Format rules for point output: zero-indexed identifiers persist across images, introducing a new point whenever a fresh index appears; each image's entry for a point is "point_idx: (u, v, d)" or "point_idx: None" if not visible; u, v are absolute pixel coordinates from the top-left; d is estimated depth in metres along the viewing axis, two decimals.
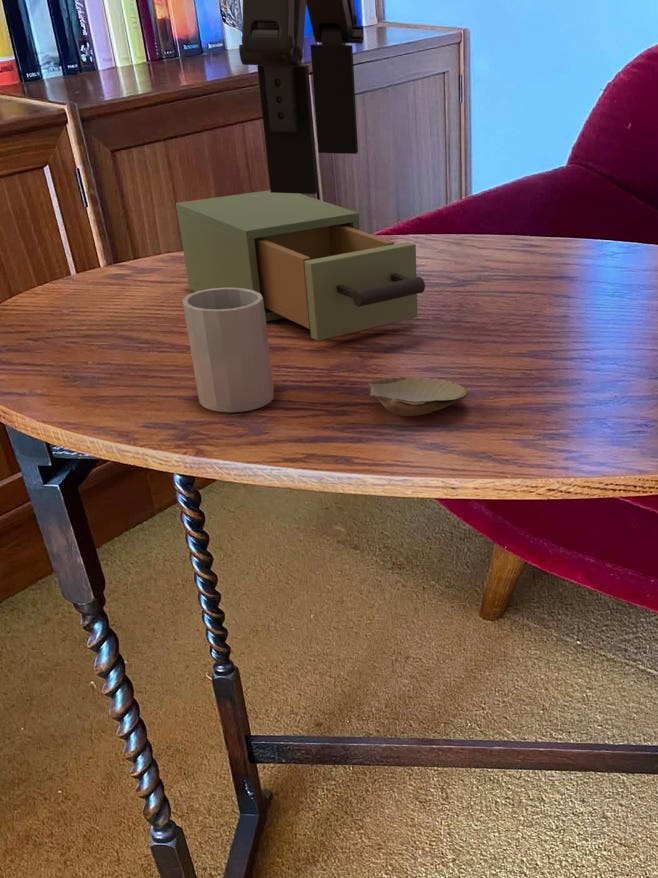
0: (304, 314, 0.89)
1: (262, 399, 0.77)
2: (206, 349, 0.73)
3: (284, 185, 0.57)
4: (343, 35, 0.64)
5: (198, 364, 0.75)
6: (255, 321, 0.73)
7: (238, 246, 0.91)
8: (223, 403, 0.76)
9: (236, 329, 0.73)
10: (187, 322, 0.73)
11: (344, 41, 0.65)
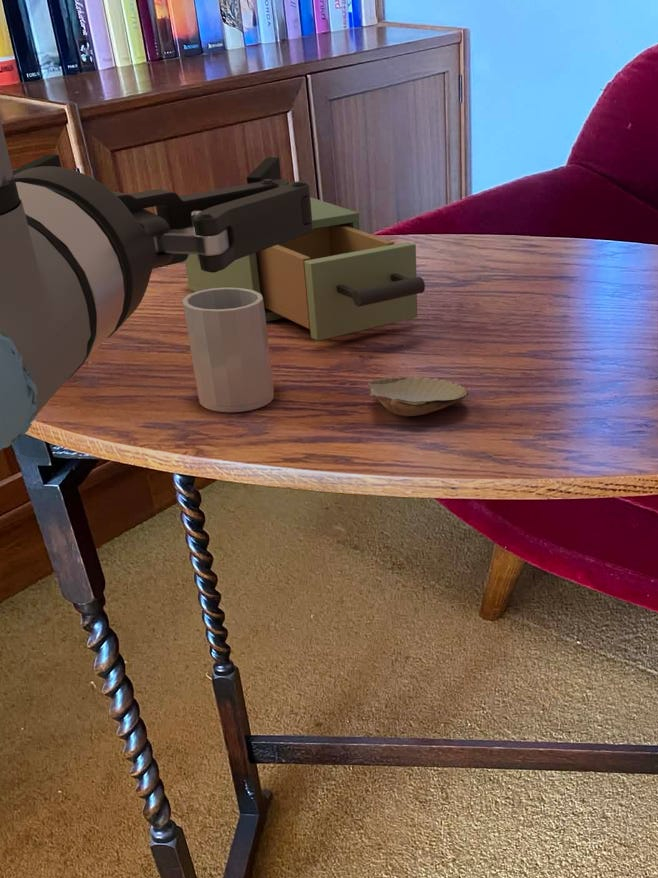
0: (304, 314, 0.89)
1: (262, 399, 0.77)
2: (206, 349, 0.73)
3: None
4: None
5: (198, 364, 0.75)
6: (255, 321, 0.73)
7: None
8: (223, 403, 0.76)
9: (236, 329, 0.73)
10: (187, 322, 0.73)
11: None
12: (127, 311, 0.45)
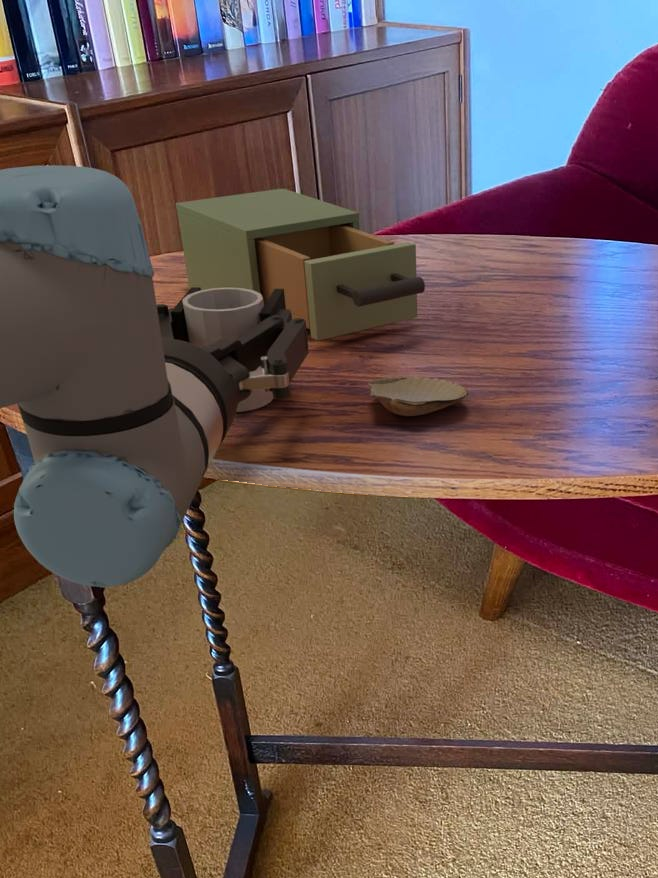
0: (304, 314, 0.89)
1: (262, 399, 0.77)
2: None
3: None
4: None
5: None
6: (255, 321, 0.73)
7: (238, 246, 0.91)
8: None
9: (236, 329, 0.73)
10: (187, 322, 0.73)
11: None
12: (222, 440, 0.62)
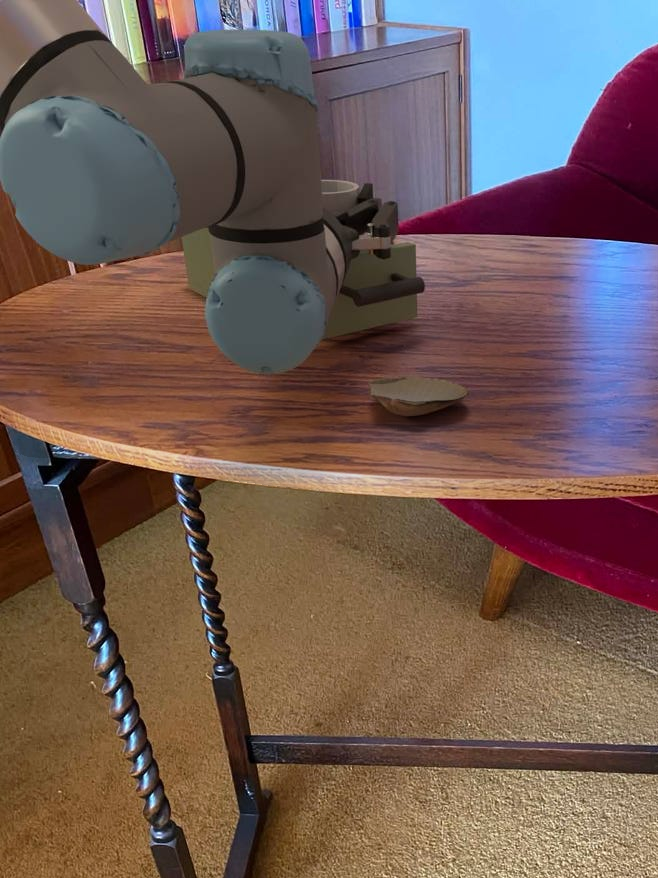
0: None
1: None
2: None
3: None
4: None
5: None
6: (353, 205, 0.87)
7: None
8: None
9: (338, 210, 0.86)
10: None
11: None
12: None
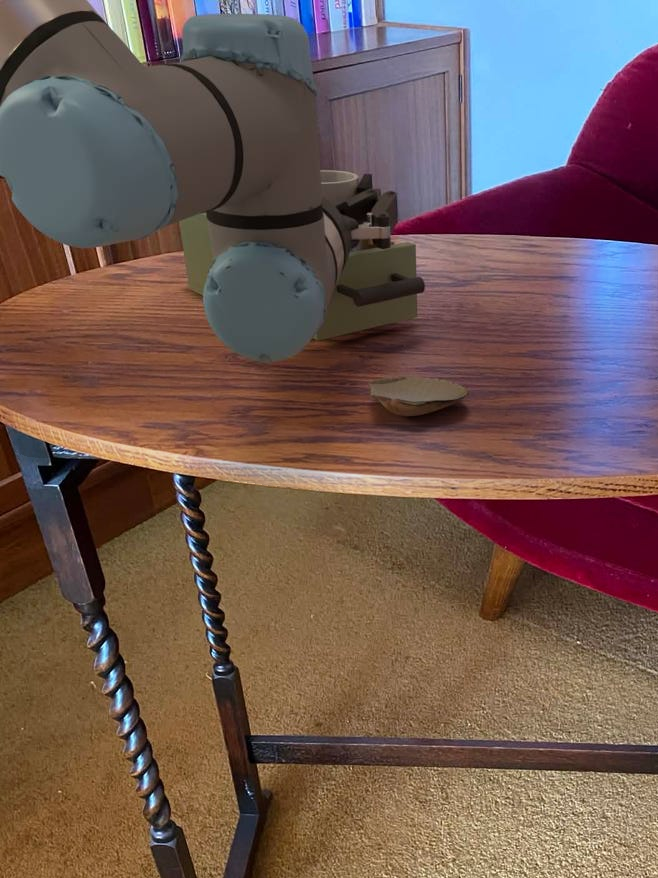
0: None
1: None
2: None
3: None
4: None
5: None
6: (353, 195, 0.86)
7: None
8: None
9: None
10: None
11: None
12: (340, 275, 0.75)
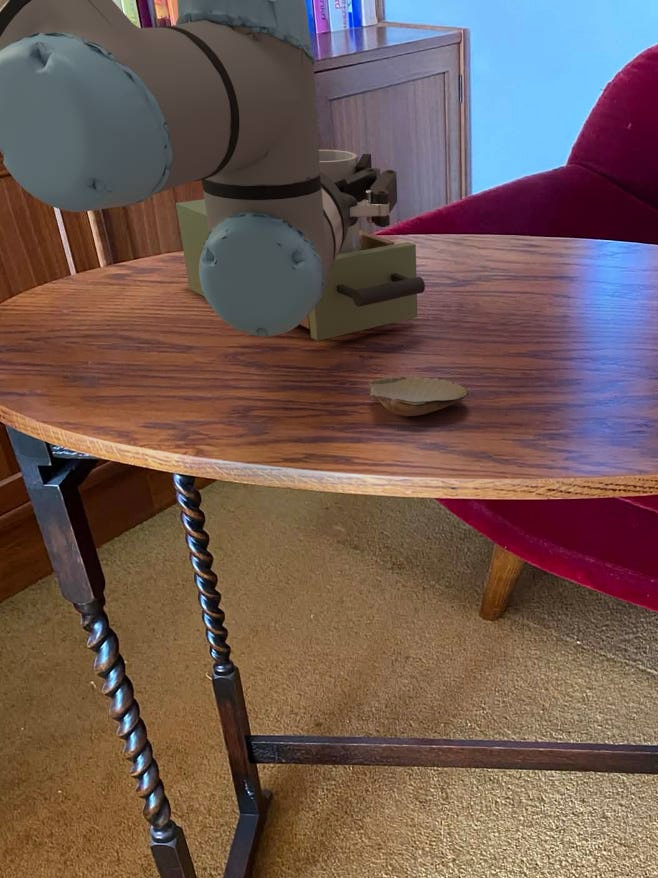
0: None
1: (354, 247, 0.89)
2: None
3: None
4: None
5: None
6: (351, 174, 0.85)
7: None
8: None
9: None
10: None
11: None
12: (338, 252, 0.74)
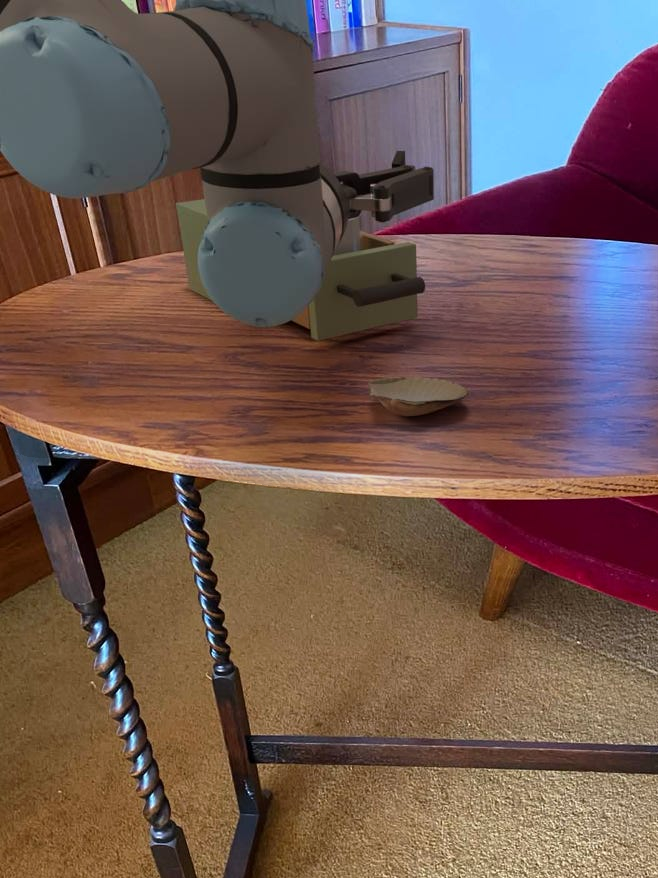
0: (304, 314, 0.89)
1: None
2: None
3: None
4: None
5: None
6: (355, 233, 0.88)
7: None
8: None
9: None
10: None
11: None
12: (338, 244, 0.74)
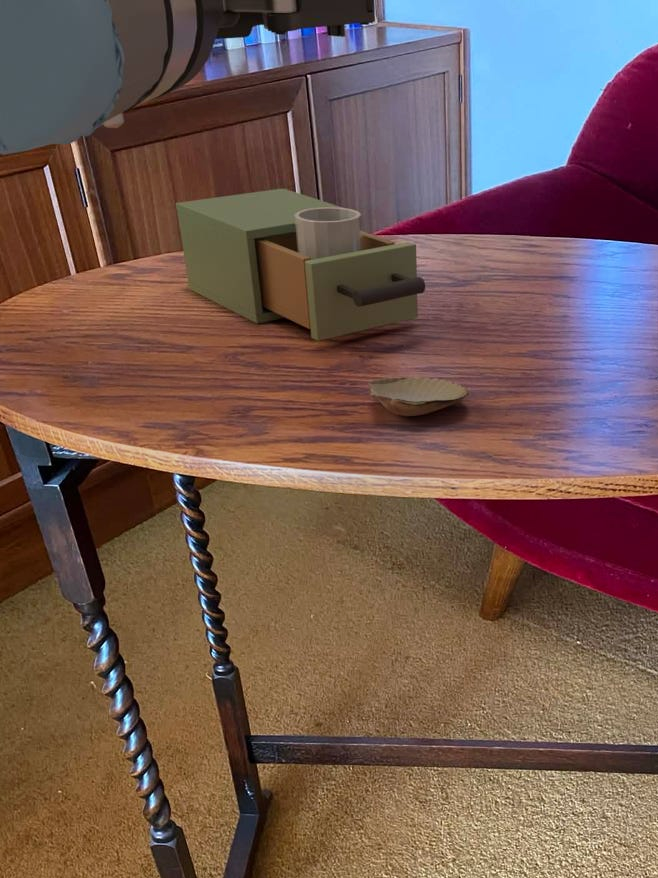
0: (304, 314, 0.89)
1: None
2: (315, 256, 0.88)
3: None
4: None
5: None
6: (355, 233, 0.88)
7: (238, 246, 0.91)
8: None
9: (340, 238, 0.87)
10: (299, 233, 0.88)
11: None
12: (197, 56, 0.43)
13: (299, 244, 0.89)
